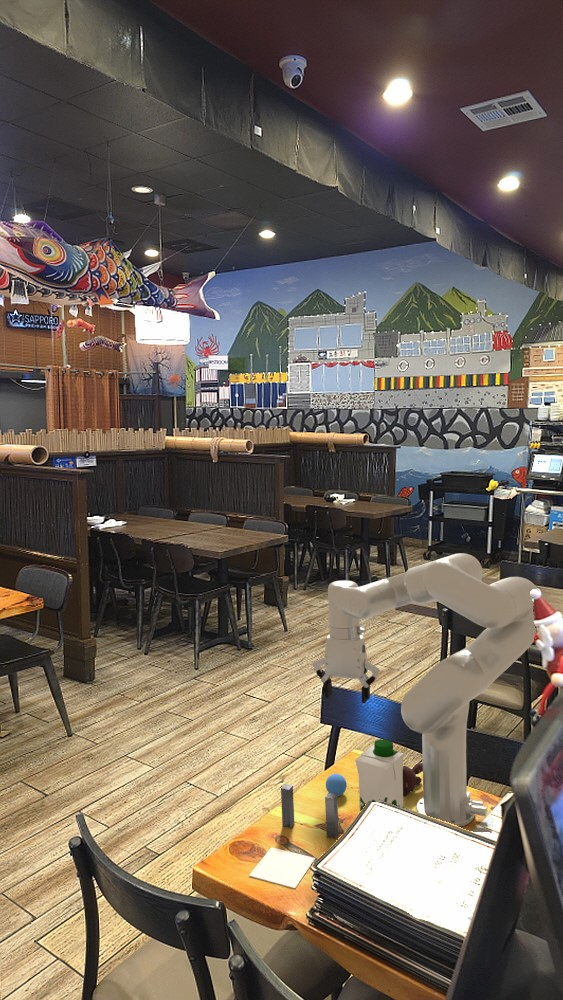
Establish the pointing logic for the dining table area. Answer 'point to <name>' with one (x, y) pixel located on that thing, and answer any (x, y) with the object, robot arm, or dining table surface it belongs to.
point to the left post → (287, 806)
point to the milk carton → (380, 774)
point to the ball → (336, 784)
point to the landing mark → (282, 867)
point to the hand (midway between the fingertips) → (346, 698)
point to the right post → (331, 815)
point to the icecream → (411, 778)
